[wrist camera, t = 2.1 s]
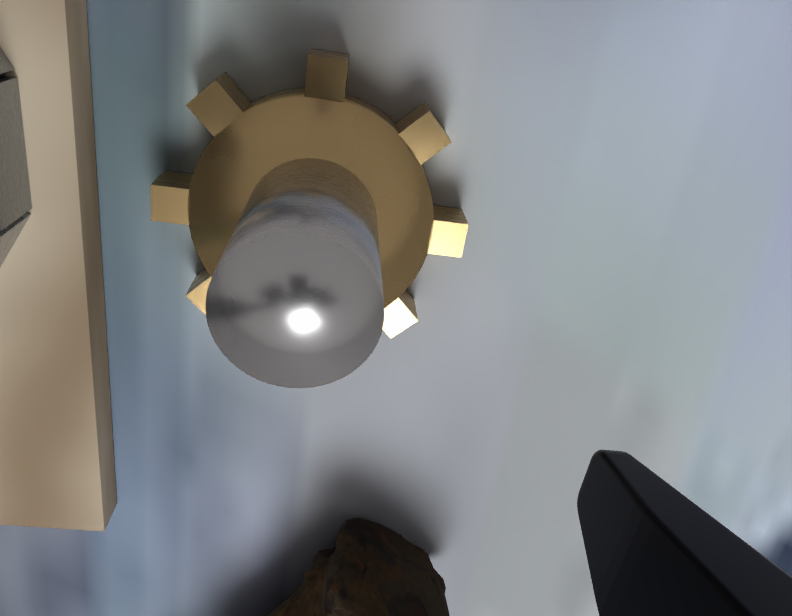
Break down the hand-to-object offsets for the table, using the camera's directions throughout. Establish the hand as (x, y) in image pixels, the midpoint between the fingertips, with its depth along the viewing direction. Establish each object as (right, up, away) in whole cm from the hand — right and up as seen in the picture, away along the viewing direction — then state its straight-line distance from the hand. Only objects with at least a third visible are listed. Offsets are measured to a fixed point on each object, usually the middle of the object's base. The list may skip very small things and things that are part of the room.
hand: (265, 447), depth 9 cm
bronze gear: (0, +4, +9) cm, 10 cm away
